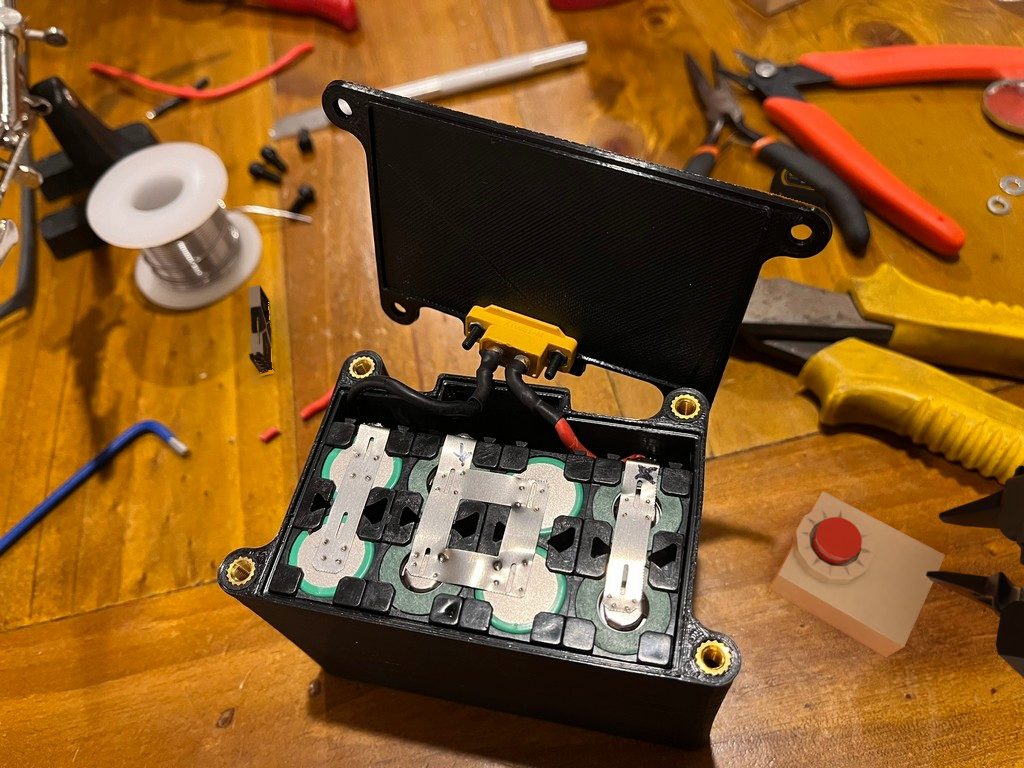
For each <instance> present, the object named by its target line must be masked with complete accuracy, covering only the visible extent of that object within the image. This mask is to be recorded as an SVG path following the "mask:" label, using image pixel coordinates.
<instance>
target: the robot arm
mask: <svg viewBox="0 0 1024 768" xmlns="http://www.w3.org/2000/svg"><path fill="white" fill-rule="evenodd" d="M938 519H939V520H940V521H941V522H942V523H944V524H947V525H953V526H959V527H965V528H966V527H968V528H969V527H970V528H983V529H994V530H995V529H997V530H999V531H1000V533H1001V534H1002V535H1003V536H1004V537H1005V538H1006V539H1008V540H1009V541H1012V542H1015V544H1016V545H1017V546H1018V547H1019V548H1020V555H1019V560H1018V561H1019V563H1020V565H1022V566H1024V465H1023V464H1020V465H1018V466H1017V467H1016V468H1015V469H1014V474H1013V476H1011V477H1008V478H1007V479H1006V480H1005V482H1004V486H1003V488H1001V489H1000V490H997V491H996V492H994V493H991V494H988V495H986V496H984V497H981V498H979V499H976V500H973V501H971V502H968V503H964V504H962V505H959V506H955V507H952V508H950V509H947V510H944V511H941V512H939V514H938ZM926 576H927V577H928V578H929V579H930V580H931V581H933V583H934V584H937V585H939V586H941V587H943V588H945V589H948V590H950V591H952V592H954V593H957V594H958V595H961V596H962V597H965V598H967V599H969V600H972V601H974V602H975V603H978V604H980V605H981V606H984V607H986V608H988V609H989V610H991V611H993V613H994V614H995V615H996V616H997V617H998V618H999V621H998V627H997V633H996V639H995V647H996V652H997V655H998V656H999V657H1000V658H1001V659H1002V660H1003V661H1004V662H1006V664H1007V665H1009V666H1010V667H1011V668H1012V669H1013V670H1014V671H1015V672H1016V673H1017V674H1018V675H1019V676H1020V677H1022V678H1023V679H1024V586H1017V585H1016V584H1015V583H1014V582H1013V581H1012V580H1011V579H1010V578H1009V577H1008V576H1007V575H1006V574H1005V573H1004V572H1003V571H999V572H996V573H994V574H991V575H989V576H986V575H977V574H970V573H962V572H956V571H955V572H954V571H945V570H939V571H927V573H926Z"/></svg>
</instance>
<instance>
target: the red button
mask: <svg viewBox="0 0 1024 768" xmlns="http://www.w3.org/2000/svg"><path fill="white" fill-rule="evenodd" d="M812 543H813V547H814V549H815V551H816V553H817V554H818V555H819V556H820V557H821V558H822V559H824V560H825V561H827V562H829V563H833V564H844V563H847V562H849V561H850V560H851V559H853V557H854V556H855V555H856V554H857V553H858V552H859V550H860V548H861V545H862V538H861V534H860V532H859V530H858V529H857V527H856V526H855V525H854V524H853V523H851V522H850V521H848V520H846V519H844V518H840V517H831V518H828V519H825V520H824V521H822V522H821V523H820V524H819V526H818V527H817V529H816V530H815V532H814V534H813V538H812Z"/></svg>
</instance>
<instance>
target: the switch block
mask: <svg viewBox="0 0 1024 768" xmlns="http://www.w3.org/2000/svg"><path fill="white" fill-rule="evenodd" d="M831 517H840V518H844V519H846V520H848V521H850V522H851V523H853V524H854V525H855V526H856V527H857V529H858V530H859V532H860V534H861V538H862V545H861V548H860V550H859V552H858V553H857V554H856V555H855V556H854V557H853V559H851V560H850V561H849V562H847V563H844V564H833V563H829V562H827V561H825V560H824V559H822V558H821V557H820V556H819V555H818V554H817V553H816V551H815V549H814V547H813V543H812V538H813V534H814V532H815V530H816V529H817V527H818V526H819V524H820V523H821V522H822V521H824V520H825V519H828V518H831ZM945 557H946V554H945V553H942V552H941V551H938V550H937V549H935V548H932V547H930V546H929V545H927V544H925V543H924V542H921V541H919V540H917V539H915V538H914V537H912V536H909V535H907V534H906V533H904V532H902V531H900V530H898V529H896V528H895V527H892V526H890V525H888V524H887V523H885V522H883V521H881V520H879V519H877V518H875V517H873V516H871V515H870V514H868V513H866V512H863V511H862V510H861V509H858V508H857V507H854V506H852V505H851V504H848V503H846V501H845V502H844V501H843V500H841V499H839V498H837V497H836V496H833V495H832V494H829V493H827V492H826V491H821V492H820V494H819V496H818V497H817V499H816V500H815V502H814V504H813V505H812V506H811V508H810V509H809V511H808V513H807V514H805V515H803V517H802V519H801V520H800V522H799V524H798V526H797V527H796V529H795V531H794V533H793V535H792V544H791V545H790V547H789V549H788V550H787V552H786V555H785V557H784V558H783V560H782V562H781V564H780V566H779V568H778V570H777V571H776V573H775V575H774V576H773V579H772V580H771V582H770V584H769V586H768V590H770V591H771V592H773V593H774V594H777V595H778V596H780V597H781V598H783V599H785V600H787V601H788V602H790V603H792V604H794V606H797V607H799V608H800V609H802V610H804V611H805V612H807V613H809V614H811V615H813V616H814V617H816V618H818V619H819V620H821V621H822V622H824V623H826V624H828V625H829V626H831V627H833V628H834V629H836V630H837V631H839V632H841V633H843V634H845V635H847V636H848V637H850V638H852V639H853V640H855V641H857V642H858V643H860V644H862V645H864V646H865V647H867V648H869V649H870V650H872V651H874V652H876V653H877V654H879V655H880V656H882V657H884V658H888V657H890V656H891V655H893V654H894V653H896V652H898V651H900V650H901V649H904V648H905V646H906V645H907V643H908V640H909V638H910V636H911V633H912V630H913V628H914V626H915V624H916V622H917V620H918V617H919V615H920V613H921V611H922V608H923V606H924V604H925V602H926V600H927V597H928V595H929V593H930V591H931V589H932V586H933V584H934V582H933V581H931V580H930V579H929V578H928V577H927V576H926V573H927V571H940V569H941V566H942V565H943V561H944V560H945Z"/></svg>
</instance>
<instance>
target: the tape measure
mask: <svg viewBox="0 0 1024 768" xmlns="http://www.w3.org/2000/svg"><path fill="white" fill-rule="evenodd" d="M770 192H771V193H774V194H777V195H781V196H784V197H787V198H791V199H794V200H798V201H801V202H805V203H808V204H812V205H815V206H817V207H820V208H821V209H823V208H825V209H823V210H824V211H825V210H826V204H825V202H826V201H827V198H826V199H825V197H823V196H822V195H820V194H819V193H817V192H816V191H815V190H814V189H812V188H811V187H810V186H808V185H807V184H805V182H803V181H801V180H799V179H798V178H797V177H796V176H794V175H792V174H791V173H790V172H789V171H787V170H786V169H785V168H783V167H782V166H781V167H779V168H778V169H777V170H776V171H775V173H774V175H773V177H772V179H771V183H770V187H769V193H770Z"/></svg>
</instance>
